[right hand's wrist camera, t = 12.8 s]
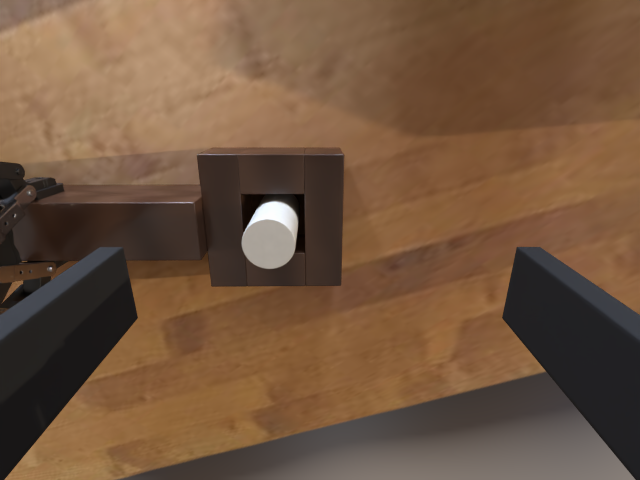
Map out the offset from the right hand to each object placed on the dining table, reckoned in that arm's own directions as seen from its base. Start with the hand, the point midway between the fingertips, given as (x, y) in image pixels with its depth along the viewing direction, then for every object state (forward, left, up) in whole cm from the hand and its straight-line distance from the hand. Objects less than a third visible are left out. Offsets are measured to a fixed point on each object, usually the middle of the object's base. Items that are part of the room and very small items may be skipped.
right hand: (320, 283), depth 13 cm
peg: (+4, -4, -24) cm, 25 cm away
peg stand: (+4, -14, -24) cm, 28 cm away
